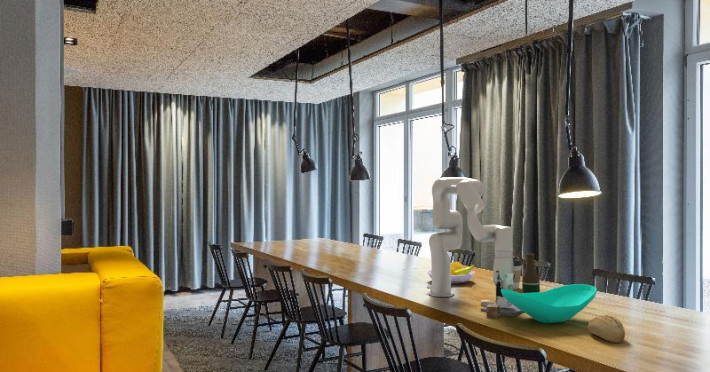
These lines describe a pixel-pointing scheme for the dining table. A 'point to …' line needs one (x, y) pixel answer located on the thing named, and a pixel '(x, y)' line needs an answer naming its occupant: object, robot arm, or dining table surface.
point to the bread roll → (607, 328)
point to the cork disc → (486, 302)
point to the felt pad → (507, 310)
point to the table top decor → (553, 302)
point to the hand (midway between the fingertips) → (504, 294)
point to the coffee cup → (517, 273)
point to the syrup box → (506, 285)
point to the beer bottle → (530, 276)
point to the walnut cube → (493, 311)
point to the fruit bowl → (459, 273)
